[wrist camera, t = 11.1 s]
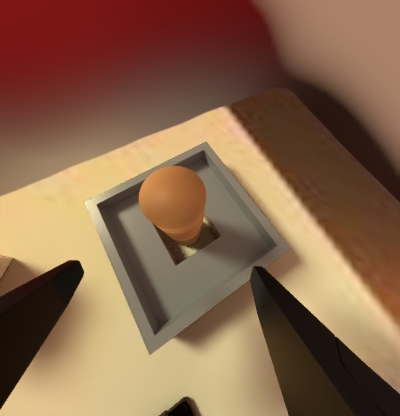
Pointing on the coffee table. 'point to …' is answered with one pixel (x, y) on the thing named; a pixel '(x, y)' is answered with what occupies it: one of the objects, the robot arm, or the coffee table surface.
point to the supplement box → (4, 264)
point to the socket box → (192, 266)
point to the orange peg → (174, 202)
